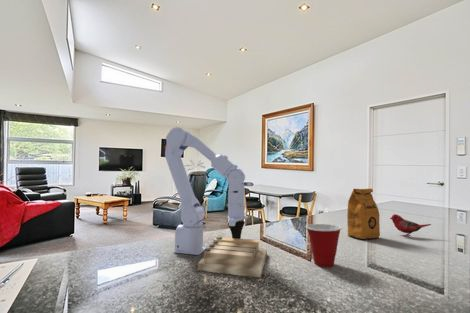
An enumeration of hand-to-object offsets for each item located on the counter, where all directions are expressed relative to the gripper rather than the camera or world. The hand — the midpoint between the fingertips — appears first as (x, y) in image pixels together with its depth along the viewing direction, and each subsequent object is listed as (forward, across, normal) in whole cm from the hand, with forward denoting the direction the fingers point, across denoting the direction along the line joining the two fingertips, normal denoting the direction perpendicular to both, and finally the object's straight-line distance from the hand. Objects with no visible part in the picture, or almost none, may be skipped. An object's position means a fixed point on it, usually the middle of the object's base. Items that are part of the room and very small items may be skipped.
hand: (236, 242), depth 86 cm
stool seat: (+4, -8, -1) cm, 9 cm away
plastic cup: (+4, -2, -28) cm, 29 cm away
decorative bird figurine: (+6, +45, -72) cm, 86 cm away
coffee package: (+5, +37, -50) cm, 63 cm away
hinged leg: (+1, -2, 0) cm, 2 cm away
